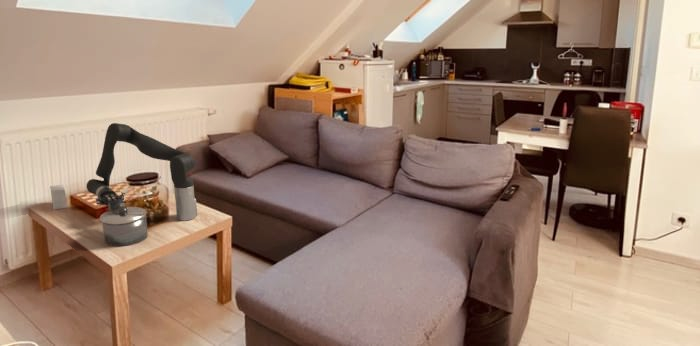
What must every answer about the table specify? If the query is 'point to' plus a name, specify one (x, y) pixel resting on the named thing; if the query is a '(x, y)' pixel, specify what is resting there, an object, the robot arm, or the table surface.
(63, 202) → the skincare box
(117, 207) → the lid
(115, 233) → the pot
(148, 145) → the robot arm
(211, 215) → the table surface
